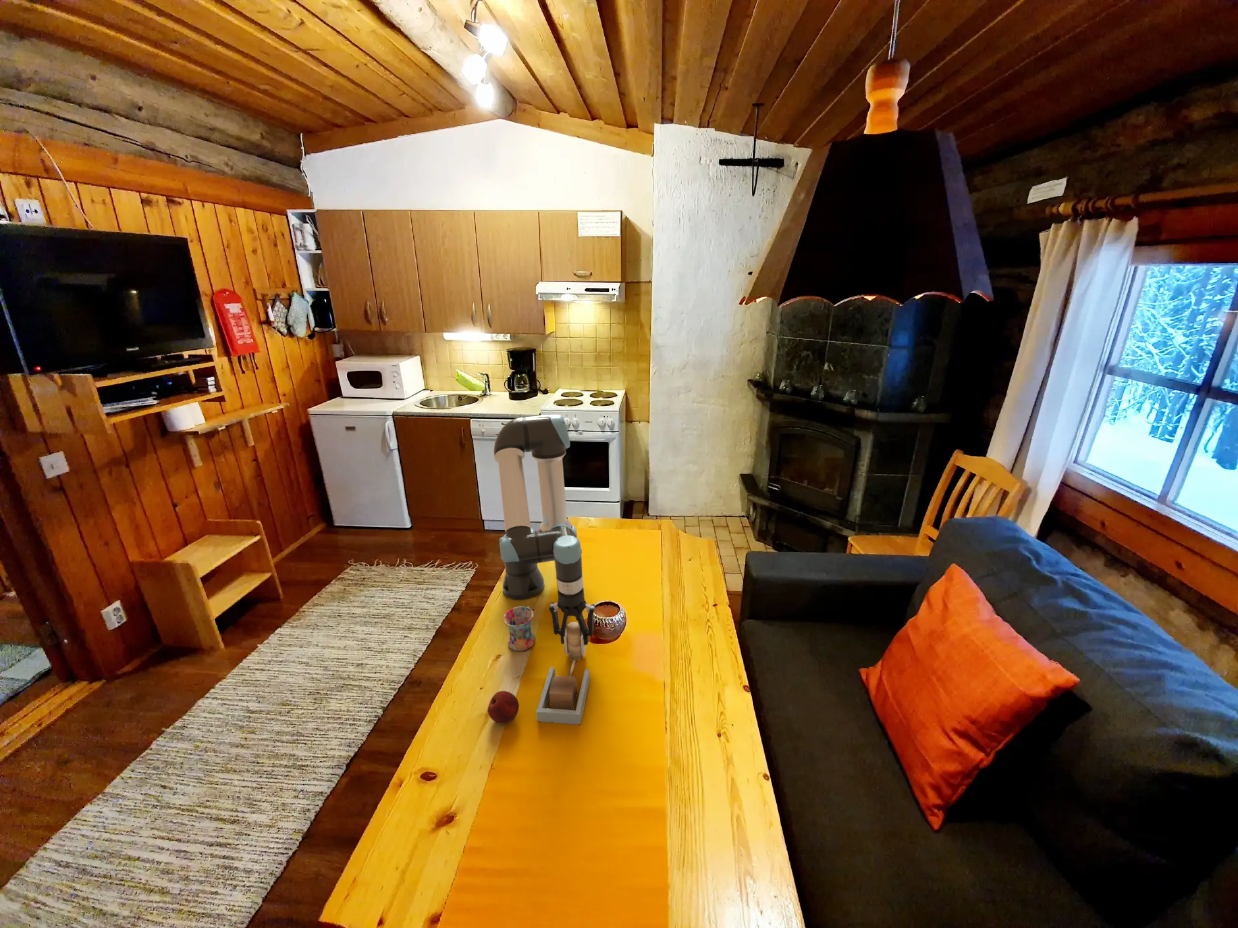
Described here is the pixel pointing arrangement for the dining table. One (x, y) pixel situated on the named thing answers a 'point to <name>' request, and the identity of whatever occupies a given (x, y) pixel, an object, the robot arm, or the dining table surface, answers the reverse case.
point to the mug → (519, 627)
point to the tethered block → (566, 686)
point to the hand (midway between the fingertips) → (575, 651)
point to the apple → (503, 707)
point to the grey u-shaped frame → (560, 714)
